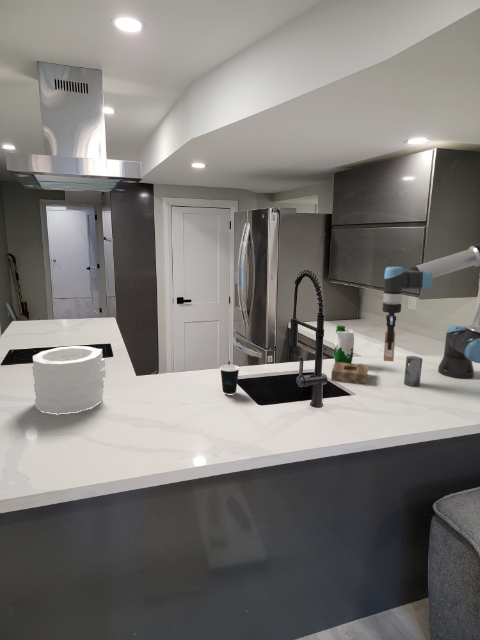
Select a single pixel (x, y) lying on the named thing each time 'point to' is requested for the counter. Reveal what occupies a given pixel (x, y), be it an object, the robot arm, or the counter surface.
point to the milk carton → (344, 345)
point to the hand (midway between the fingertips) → (388, 355)
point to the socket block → (349, 373)
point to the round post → (413, 371)
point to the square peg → (385, 348)
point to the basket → (68, 378)
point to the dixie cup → (229, 378)
